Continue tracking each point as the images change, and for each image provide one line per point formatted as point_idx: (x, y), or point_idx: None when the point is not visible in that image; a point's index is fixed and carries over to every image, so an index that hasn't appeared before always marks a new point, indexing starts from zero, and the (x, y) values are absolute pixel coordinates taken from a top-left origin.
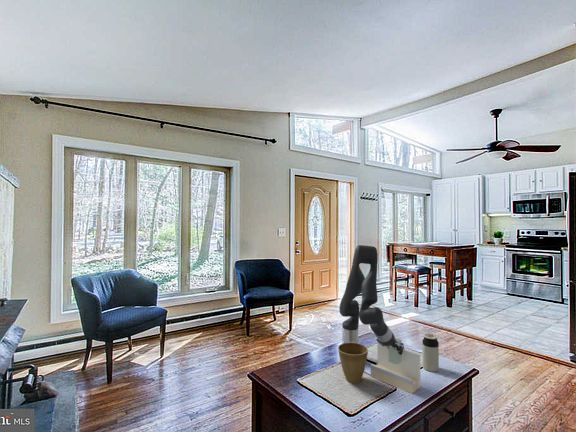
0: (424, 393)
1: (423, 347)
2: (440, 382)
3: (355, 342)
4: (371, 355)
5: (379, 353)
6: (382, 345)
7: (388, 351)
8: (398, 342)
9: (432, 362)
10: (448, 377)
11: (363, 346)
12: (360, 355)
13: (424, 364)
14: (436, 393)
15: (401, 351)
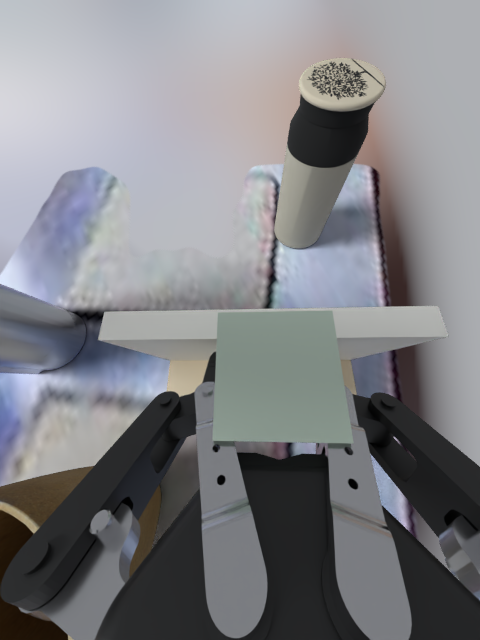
0: (369, 383)
1: (300, 177)
2: (360, 282)
3: (1, 330)
4: (119, 281)
5: (156, 353)
6: (167, 440)
7: (203, 348)
8: (338, 388)
9: (322, 221)
10: (358, 241)
11: (19, 508)
12: None
13: (291, 236)
14: (392, 353)
15: (389, 453)
